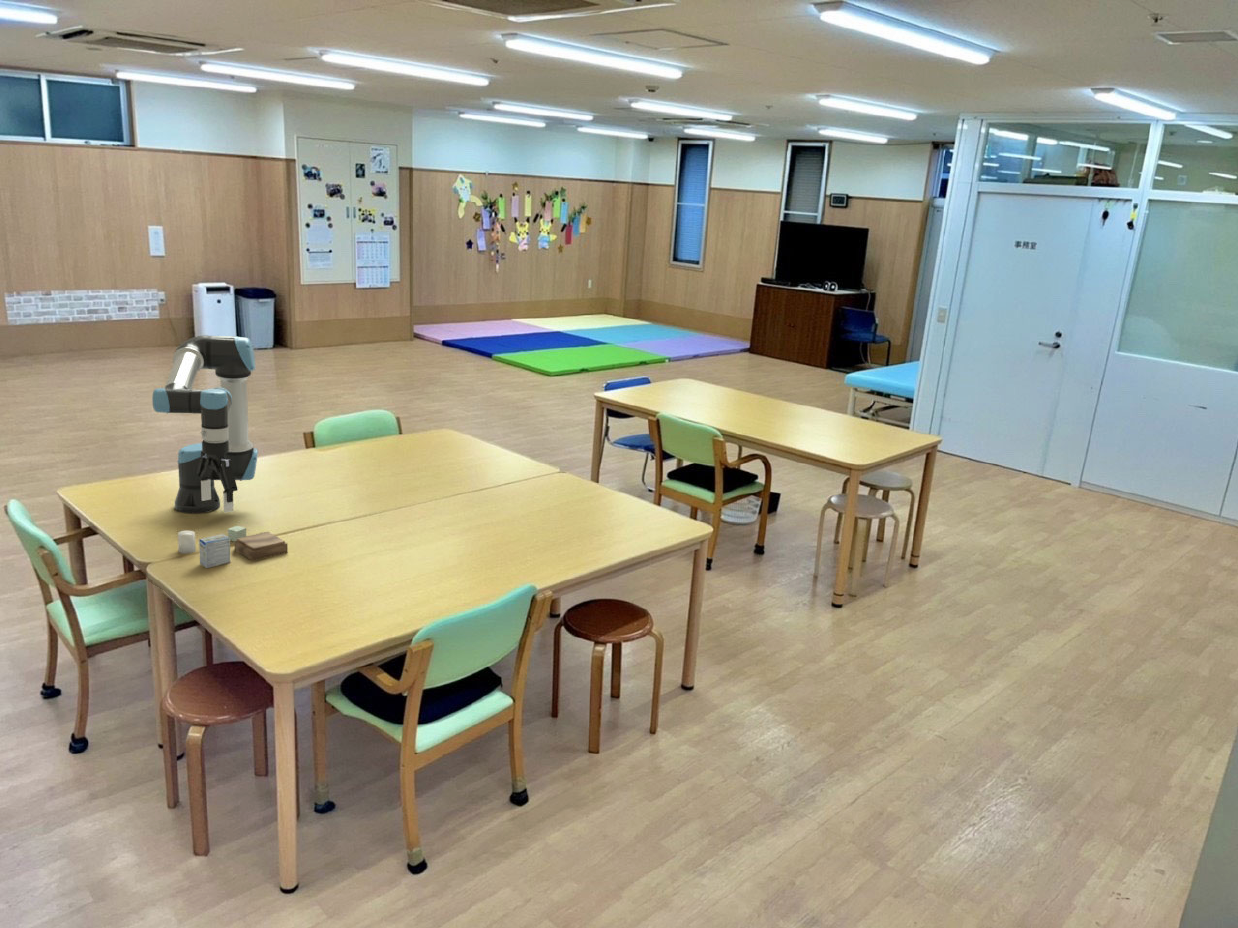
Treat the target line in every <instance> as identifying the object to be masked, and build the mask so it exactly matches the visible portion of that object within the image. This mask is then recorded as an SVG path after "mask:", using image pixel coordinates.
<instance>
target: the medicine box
mask: <svg viewBox="0 0 1238 928" xmlns="http://www.w3.org/2000/svg"><path fill="white" fill-rule="evenodd" d="M198 543H199V544H198V545H199V564H200V565H201V566H203V567H204V568H205V569H209V568H213V567H216V566H220V565H225V564H229V563H231V540H230V538H229V537H228V535H225V534H224V533H221V534H216V535H211V536H207V537H204V538H203V537H202V538H199V539H198Z"/></svg>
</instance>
